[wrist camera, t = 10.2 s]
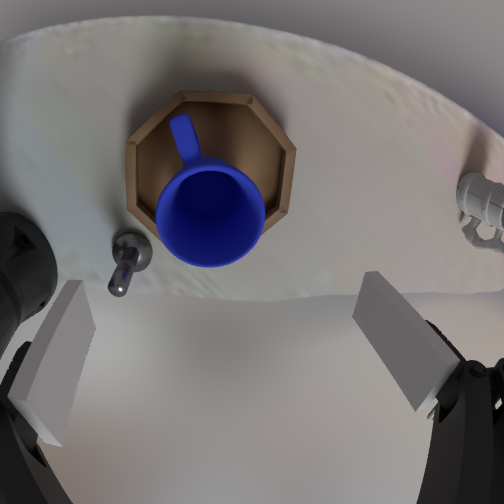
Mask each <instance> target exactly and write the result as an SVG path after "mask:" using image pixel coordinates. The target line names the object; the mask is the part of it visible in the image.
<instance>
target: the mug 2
mask: <svg viewBox="0 0 504 504" xmlns="http://www.w3.org/2000/svg"><path fill="white" fill-rule="evenodd" d="M458 187H459V188H458V189H457V204H458V207H459V208H460V209H461V210H462V211H463V212H464V213H465V214H466V215H467V216H469V217H472V219H471V221H470V222H469V224H468V225H466V226H464V227H462V231H463V233H464V234H465V238H466V239H467V240H468V242H469V243H471V244H473V246H474V247H475V248H476V249H481V250H487V251H494V252H500V253H502V254H503V255H504V243H503V242H502V241H501V236H502V233H503V231H504V185H503V184H502V183H495V182H493V181H491V180H488V179H486V178H485V177H484V176H483V174H481V173H472V172H469V173H467V174H466V175H465V176H464V177H462V179H461V180H460V182H459V185H458ZM481 220H483V221H484V222H485V223H486V224H487V225H488V226H491V227H492V226H494V227H496V232H495V235H494V238H493V239H489V240H483V239H482V238H480V237H479V236H478V234H477V231H476V230H475V229H476V228H477V227H478V225H479V224H480V222H481Z"/></svg>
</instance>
